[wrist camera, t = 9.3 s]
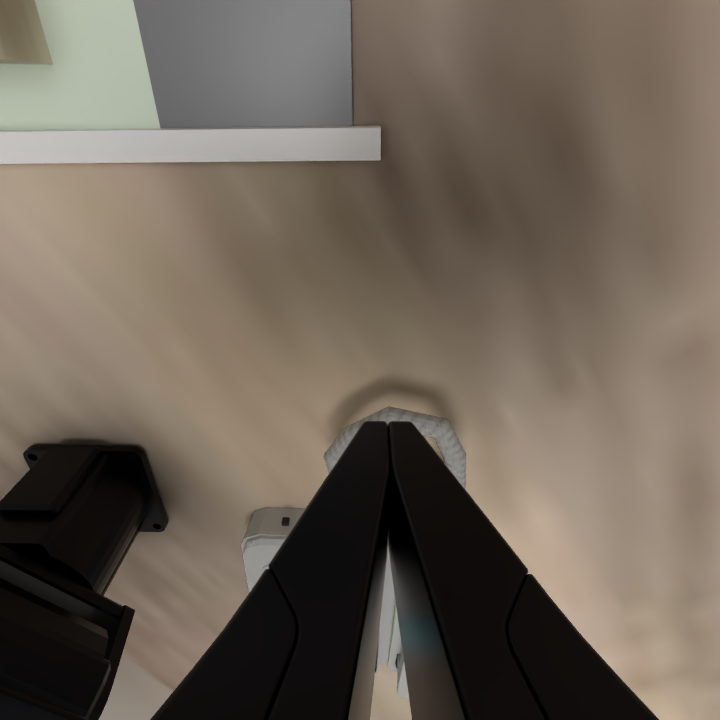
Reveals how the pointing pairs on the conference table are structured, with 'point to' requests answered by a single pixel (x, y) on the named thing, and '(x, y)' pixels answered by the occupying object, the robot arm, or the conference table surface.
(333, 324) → the conference table surface
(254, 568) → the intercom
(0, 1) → the birch block
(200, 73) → the trap lane
